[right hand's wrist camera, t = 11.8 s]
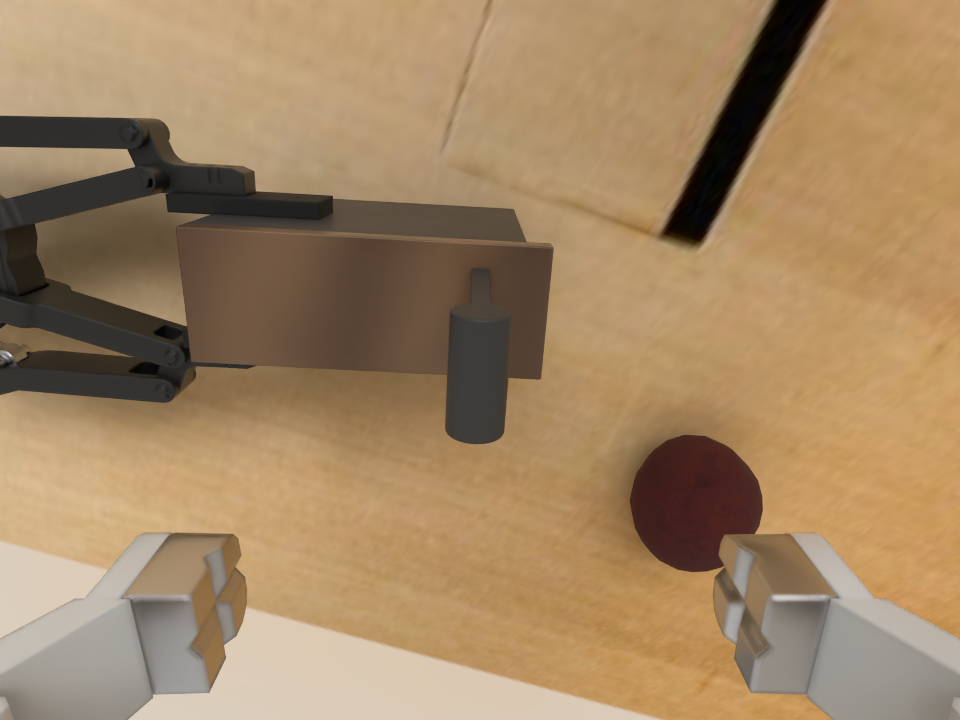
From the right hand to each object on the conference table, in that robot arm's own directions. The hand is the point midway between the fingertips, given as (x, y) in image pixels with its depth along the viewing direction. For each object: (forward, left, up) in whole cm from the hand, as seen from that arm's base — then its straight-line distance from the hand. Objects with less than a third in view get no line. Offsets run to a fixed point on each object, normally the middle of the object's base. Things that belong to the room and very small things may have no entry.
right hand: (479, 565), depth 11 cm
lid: (+4, -1, -16) cm, 17 cm away
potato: (-11, +15, -26) cm, 32 cm away
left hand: (+7, -1, -20) cm, 21 cm away
